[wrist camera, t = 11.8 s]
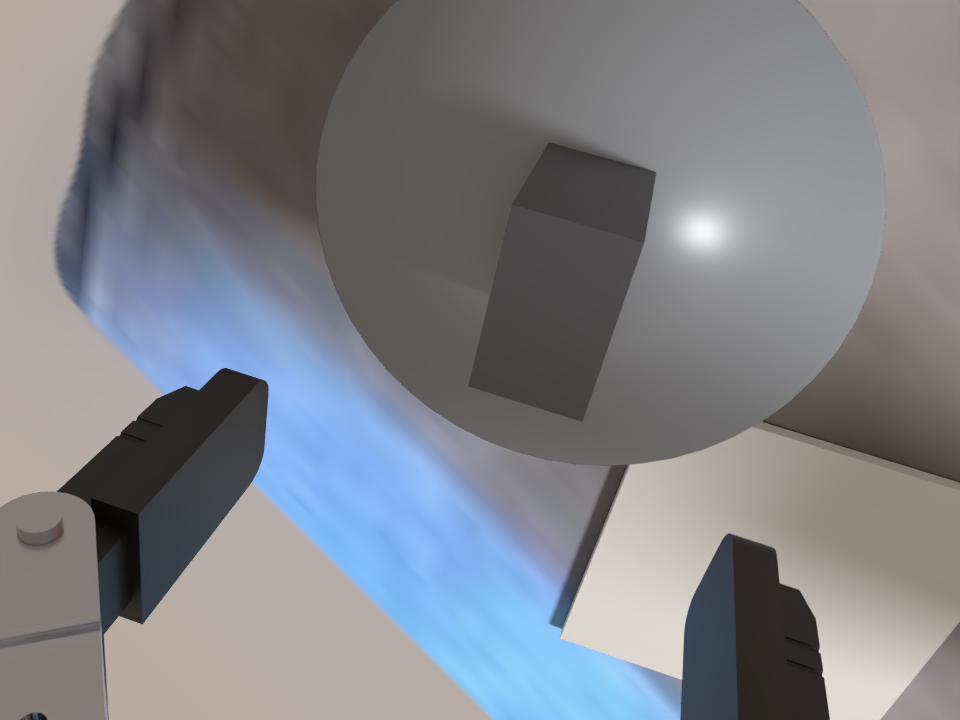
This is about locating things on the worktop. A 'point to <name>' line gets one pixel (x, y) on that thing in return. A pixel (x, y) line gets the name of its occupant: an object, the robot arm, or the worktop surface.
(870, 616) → the mat
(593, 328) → the lid
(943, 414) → the worktop surface
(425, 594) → the worktop surface
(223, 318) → the worktop surface
